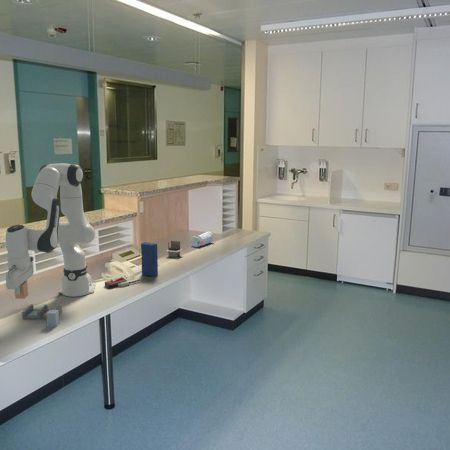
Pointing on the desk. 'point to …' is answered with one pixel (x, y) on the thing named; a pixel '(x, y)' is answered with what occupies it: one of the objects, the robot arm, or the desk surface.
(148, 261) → the blue rectangular block
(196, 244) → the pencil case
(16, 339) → the desk surface
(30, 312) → the slot dock
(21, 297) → the terracotta plug
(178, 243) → the architectural model
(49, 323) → the slate-blue plug
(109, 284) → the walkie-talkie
